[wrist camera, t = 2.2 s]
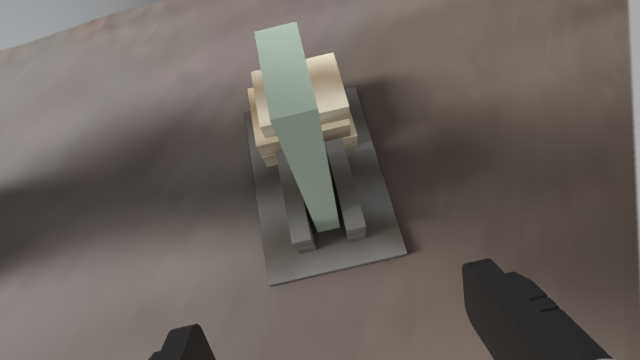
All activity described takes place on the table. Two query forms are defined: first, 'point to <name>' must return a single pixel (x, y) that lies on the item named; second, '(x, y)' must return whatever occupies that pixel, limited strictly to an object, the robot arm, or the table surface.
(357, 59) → the table surface
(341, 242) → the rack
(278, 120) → the slat
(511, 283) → the robot arm
